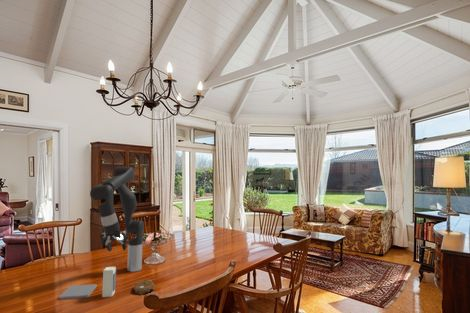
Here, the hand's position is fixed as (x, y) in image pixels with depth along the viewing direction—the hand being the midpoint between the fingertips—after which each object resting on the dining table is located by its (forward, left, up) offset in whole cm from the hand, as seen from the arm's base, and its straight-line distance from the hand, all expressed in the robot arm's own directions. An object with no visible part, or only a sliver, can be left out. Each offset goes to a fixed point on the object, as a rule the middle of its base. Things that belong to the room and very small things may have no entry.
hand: (117, 250), depth 141 cm
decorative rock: (-11, +13, -26) cm, 31 cm away
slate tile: (-11, -22, -25) cm, 35 cm away
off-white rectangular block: (-6, -5, -25) cm, 26 cm away
